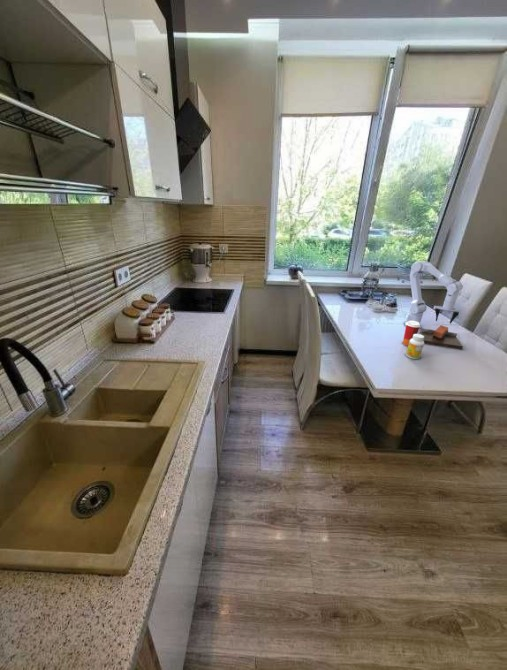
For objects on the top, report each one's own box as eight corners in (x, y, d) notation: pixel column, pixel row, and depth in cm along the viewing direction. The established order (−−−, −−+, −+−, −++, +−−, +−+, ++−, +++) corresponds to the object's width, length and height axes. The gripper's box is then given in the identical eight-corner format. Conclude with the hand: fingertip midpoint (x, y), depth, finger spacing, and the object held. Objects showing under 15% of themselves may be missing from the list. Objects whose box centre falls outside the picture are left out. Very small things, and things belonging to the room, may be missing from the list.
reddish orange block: (440, 339, 168) (442, 333, 166) (432, 337, 171) (434, 331, 169) (447, 332, 173) (449, 326, 171) (439, 329, 176) (441, 323, 174)
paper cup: (413, 342, 169) (419, 321, 163) (416, 347, 162) (422, 326, 156) (399, 340, 171) (405, 319, 165) (401, 345, 164) (407, 324, 159)
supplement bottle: (403, 353, 156) (409, 332, 151) (415, 353, 156) (421, 333, 151) (409, 359, 150) (415, 338, 144) (422, 359, 149) (428, 338, 144)
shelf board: (423, 343, 168) (425, 337, 166) (419, 333, 181) (421, 327, 180) (461, 349, 161) (464, 343, 160) (454, 338, 175) (456, 333, 173)
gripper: (463, 301, 170) (456, 322, 176) (436, 297, 177) (430, 317, 182) (464, 304, 164) (457, 325, 170) (436, 300, 171) (430, 320, 177)
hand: (443, 321), depth 176 cm, fingers open, 7 cm apart
